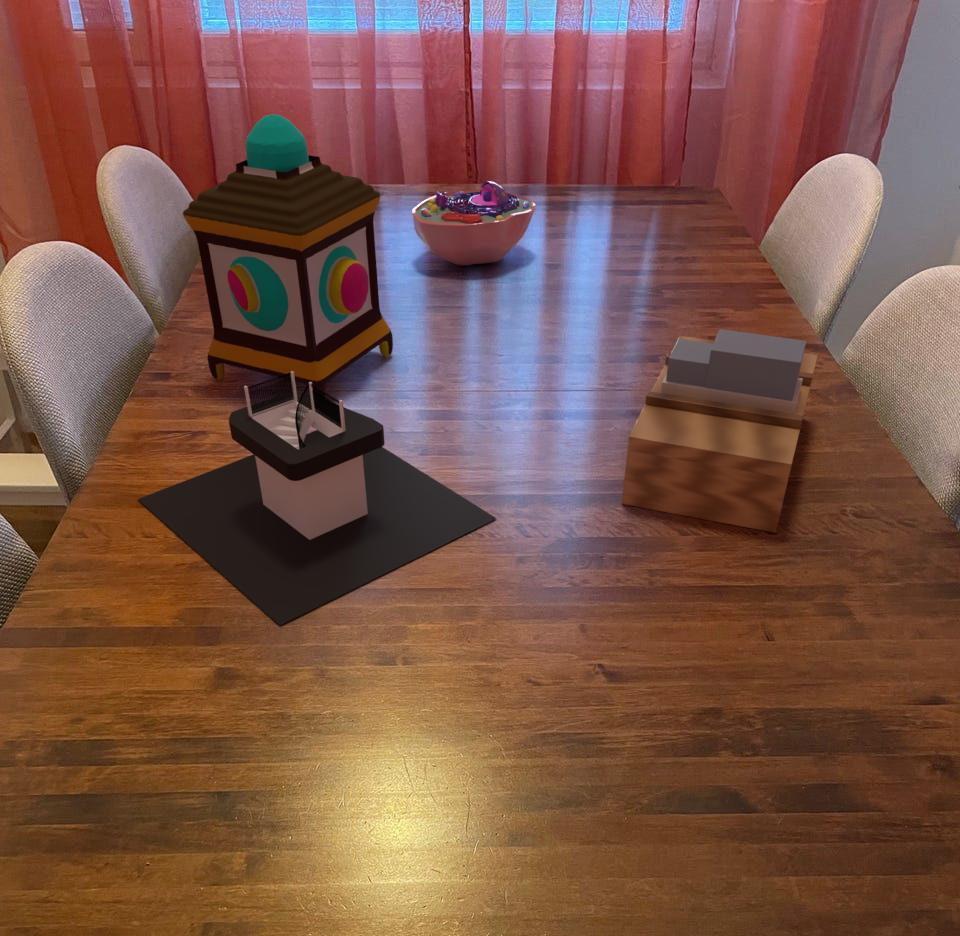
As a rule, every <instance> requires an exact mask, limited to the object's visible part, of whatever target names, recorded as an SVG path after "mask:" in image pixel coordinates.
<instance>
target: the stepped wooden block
mask: <svg viewBox="0 0 960 936" xmlns="http://www.w3.org/2000/svg"><path fill="white" fill-rule="evenodd" d="M678 339H684V340H691V341H698V342H705V343H712V344H714V342H715V340H712V339H707V338H706V339H705V338H699V337H692V336H684V335H679V337H678V338H677V340H676V343H677V341H678ZM676 343H675V345H676ZM675 345H674V346H673V348H672V349H671V352H667V354H666V356H665V361H664V362H665V363H664V366H663V368H662V370H661V372H660V373H659V376H658V378H657V380H656V382H655V383H654V386H653V388H652V390H648V392H647V394H646V395H645V401H644V406H643V408H642V410H641V411H640V414H639V416H638V417H637V420H636V421H635V423H634V426H633V428H632V429H631V431H630V433H629V435H628V441H627V451H626V458H625V459H626V461H625V469H624V478H623V486H622V487H623V488H622V496H621V504H622V505H626V506H632V507H637V508H641V509H646V510H647V509H648V510H653V511H658V512H663V513H668V514H672V515H673V514H674V515H678V516H684V517H688V518H695V519H700V520H704V521H710V522H715V523H721V524H727V525H732V526H737V527H743V528H749V529H753V530H758V531H763V532H769V533H773V534H774V533H776V532H777V529H778V524H779V520H780V516H781V513H782V508H783V504H784V500H785V496H786V491H787V487H788V483H789V478H790V474H791V470H792V466H793V461H794V457H795V453H796V449H797V444H798V440H799V436H800V432H801V428H802V424H803V420H804V416H805V412H806V407H807V403H808V398H809V394H810V390H811V386H812V382H813V377H814V373H815V370H816V365H817V359H818V354H812V353H806V352H804V354H803V359H802V363H801V368H800V372H799V376H798V378H803V381H802V385H801V390H800V394H799V398H798V402H797V406H796V410H795V414H791V413H784V412H778V411H772V410H765V409H759V408H753V407H746V406H740V405H733V404H727V403H721V402H714V401H708V400H702V399H695V398H689V397H683V396H676V395H670V394H664V393H661V388H662V382H663V380H664V378H665V376H666V374H667V368H668V361H669V357H670V355H671V353H672V351H673V349H674V347H675Z"/></svg>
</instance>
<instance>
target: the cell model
mask: <svg viewBox="0 0 960 936" xmlns="http://www.w3.org/2000/svg"><path fill="white" fill-rule="evenodd" d="M536 207H537V205H536V203H535V202H534V201H533V200H531V199H529V198H526V197H524V196H522V195H520V194H516V193H514V192H513V193H512V192H508V191H506V190H505V188H504V187H503V186H501V184H499V183H497V182H495V181H490V180H489V181H488V180H486V181H484V182H483V183H482V184H481V187H480V188H476V189H466V190H450V191H444V192H440V191H437V192H436V194H435V195H433V196H429V197H428V198H426V199H425V200H423V201H421V202H420V203H418V204H417V205H415V206H414V207H413V208H412V209H411V214H412V222H413V228H414V232H415V234H416V236H417V237H418V238H419V240H420V241H421V242H422V243H423V244H424V245H425V246H426V247H427V248H428V250H430V252H432V253H433V255H435V256H437V257H439V258H440V259H442V260H444V261H447V262H450V263H451V264H453V265H456V266H472V265H482V264H483V265H485V264H493V263H496V262H500V261H501V260H502V259H504V258H505V257H506V256H507V255H508V254H509V253H510V252H511V251H512V249H514V248H515V247H516V245H517V244H518V243H519V242H520V241H521V240H522V239H523V237H524V236H525V234H526V232H527V230H528V229H529V226H530V224H531V221H532V219H533V216H534V213H535V211H536Z"/></svg>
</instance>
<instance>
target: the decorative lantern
mask: <svg viewBox="0 0 960 936" xmlns="http://www.w3.org/2000/svg"><path fill="white" fill-rule="evenodd" d="M308 150H309V149H308V144H307V141H306V138H305V136H304V134H303V133H302V132H301V131H300V130H299V129H298V128H297V127H296V126H295V125H294V124H293V122H292V121H290V120H289V119H288V118H286V117H284V116H282V115H281V114H277V113H276V114H268V115H267V114H266V115H264V116H262V118H261V119H259V120H258V121H257V122H256V123H255V124H254V126H253V127H252V128H251V130H250V131H249V133H248V134H247V137H246V140H245V153H246V159H245V160H242V161H240V162H238V163H236V164H235V171H232V172H229V174H228V175H227V177H226V180H223V181H221V182H219V184H217V185H215V186H213V187H210V188H207V189H206V190H202V191H201V192H200V193H199V194H198V195H197V197H196V198H195V199H194V200H192V201H190V202H189V203H188V207H187V208H185V209H184V210H183V212H182V216H183V218H184V220H185V222H186V223H187V224H188V226H189V227H190V229H191V230H192V231H193V234H194V235H195V238H196V241H197V246H198V253H199V258H200V262H201V263H200V264H201V268H202V272H203V279H204V284H205V289H206V295H207V300H208V306H209V311H210V317H211V320H212V328H213V336H212V339H211V343H210V345H209V349H208V352H207V364H208V368H209V371H210V374H211V376H212V378H213V379H215V380H216V381H221V380H222V379H223V378H224V377H225V365H228V366H230V367H231V366H232V367H235V368H239V369H243V370H247V371H252V372H255V373H260V374H264V375H268V376H272V377H275V378H276V377H279V376H281V375H284V374H287V373H290V372H291V371H293V372H294V377H295V383H296V382H297V383H301V384H304V385H305V386H307V385H308V384H309V382H312V385H314V386H316V387H317V388H319V389H321V390H322V391H324V392H326V389H327V385H328V383H329V382H330V381H331V380H332V379H334V377H336V376H337V375H339V374H340V373H341V372H343V371H345V370H346V369H347V368H349V367H350V366H352V365H353V364H354V363H355V362H358V361H359V360H360V359H361V358H363V357H364V356H365V355H367V354H369V353H370V352H371V351H373V350H374V349H376V348H377V347H378V348H379V352H380V354H381V356H383V357H384V358H388V357H390V356H391V355H392V353H393V349H394V340H393V339H394V338H393V332H392V330H391V328H390V327H389V325H388V323H387V322H386V320H385V318H384V316H383V314H382V312H381V307H380V297H379V283H378V281H379V280H378V269H377V268H378V267H377V253H376V239H375V226H374V225H375V224H374V219H375V218H374V217H375V214H376V210H377V209H378V205H379V203H380V199H381V193H380V192H379V191H377V190H375V189H374V188H373V186H372V185H371V184H367V183H364V181H363V179H361V178H359V177H356V176H350V175H344V174H342V173H341V172H340V171H336V170H333V169H332V167H331V166H330V165H329V164H324V163H322V162H321V157H320V156H317V155H310V154H309V151H308ZM287 378H288V379H289V378H290V375H289V377H288V375H287V376H286V380H287ZM281 379H283V377H282V378H281ZM283 380H285V376H284V379H283ZM313 390H314V391H315V392H317V391H318V390H317V389H313ZM326 393H327V392H326ZM317 394H318V393H317ZM315 395H316V394H315ZM320 395H322V396H325V394H324V393H323V394H320ZM324 399H325V398H324Z"/></svg>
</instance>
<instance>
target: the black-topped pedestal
mask: <svg viewBox="0 0 960 936" xmlns="http://www.w3.org/2000/svg"><path fill="white" fill-rule="evenodd" d="M287 375H288V377H289V375H290V378H289V379H288V378H287V379H286V376H287ZM284 376H285V379H284ZM282 377H283V378H282ZM243 389H244V395H245V402H246V406H244V407H242V408H239V409H236V410H233V411H231V412H230V414H229V417H228V424H229V425H228V426H229V430H230V435H231V436H230V437H231V439H232V440H233V441H234V442H236V443H237V444H239V445H240V446H241V447H243V448H244V449H245V450H247V451H248V452H250V453H251V454H250V455H248V456H246V457H243V458H240V459H238V460H235V461H233V462H231V463H228V464H225V465H222V466H220V467H217V468H214V469H212V470H209V471H207V472H204V473H201V474H199V475H197V476H194V477H191V478H188V479H186V480H183V481H180V482H178V483H175V484H173V485H171V486H168V487H165V488H163V489H160V490H157V491H154V492H152V493H150V494H147V495H144V496H142V497H139V498H137V500H138V501H139V502H140V504H142V505H143V506H144V507H145V508H147V509H148V511H150V512H151V513H153V514H154V515H155V517H157V518H158V519H159V520H160V521H161V522H163V523H164V525H166V526H167V527H168V528H169V529H170V530H171V531H173V532H174V533H175V534H176V535H177V536H178V537H180V539H181V540H183V541H184V542H185V543H186V544H187V545H189V546H190V547H191V548H192V549H193V550H194V552H196V553H198V554H199V555H200V556H201V557H202V558H203V559H205V560H206V562H208V563H209V564H210V565H211V566H213V567H214V569H215V570H217V571H218V572H219V573H220V574H221V575H222V576H223V577H225V578H226V579H227V580H228V581H229V582H230V583H232V585H234V587H236V588H237V589H238V590H239V591H240V592H241V593H243V594H244V595H245V596H246V597H247V598H249V600H250V601H251V602H253V603H254V604H255V605H256V606H257V607H259V608H260V610H262V611H263V612H264V613H265V614H267V616H269V617H270V618H271V619H272V620H273V621H274V622H276V623H277V624H278V625H279V626H282V625H283V624H286V623H288V622H290V621H291V620H292V621H293V620H294V619H296V618H299V617H300V616H302V615H304V614H307V613H308V612H311V611H313V610H314V609H316V608H318V607H320V606H322V605H324V604H326V603H328V602H330V601H332V600H335V599H337V598H338V597H341V596H343V595H345V594H347V593H349V592H351V591H353V590H354V589H357V588H359V587H361V586H363V585H365V584H367V583H369V582H371V581H373V580H375V579H377V578H379V577H381V576H383V575H385V574H387V573H389V572H392V571H394V570H395V569H398V568H400V567H402V566H404V565H405V564H407V563H409V562H411V561H413V560H415V559H418V558H420V557H422V556H424V555H426V554H428V553H429V552H431V551H434V550H435V549H438V548H440V547H442V546H444V545H446V544H448V543H450V542H452V541H454V540H456V539H458V538H460V537H462V536H464V535H466V534H468V533H470V532H472V531H475V530H476V529H478V528H480V527H482V526H484V525H487V524H489V523H491V522H492V521H495V520H496V519H498V518H497V517H495V516H494V515H492V514H491V513H489V512H488V511H486V510H484V509H483V508H482V507H479V506H478V505H477V504H474V503H473V502H472V501H470V500H469V499H467V498H465V497H463V496H462V495H461V494H459V493H458V492H455V491H454V490H453V489H451V488H449V487H447V486H446V485H444V484H443V483H441V482H440V481H438V480H436V479H434V478H433V477H431V476H430V475H428V474H426V473H425V472H423V471H422V470H421V469H419V468H417V467H415V466H414V465H412V464H410V463H409V462H407V461H406V460H404V459H402V458H401V457H399V456H398V455H396V454H394V453H393V452H391V451H390V450H388V449H387V448H385V447H384V446H385V443H386V442H385V428H384V424H382V423H380V422H379V421H377V420H376V419H374V418H372V417H369V416H367V415H365V414H362V413H360V412H357V411H356V410H355V411H354V410H352V409H350V408H347V407H345V406H344V401H343V400H342V399H337V398H336V397H334V396H332V395H330V394H329V393H328V392H324V391H322V390H321V389H319V388H317V387H316V386H314V385H312V382H309V384H308V385H306V387H305V389H304V390H303V391H302V390H297V385H296V381H295V377H294V372H293V371H291V372H290V373H287V374H284V375H281V376H279V377H276V376H275V377H273V378H270V379H267V380H264V381H262V382H258V383H255V384H253V385H249V386H248V385H244V386H243ZM308 389H309V392H308ZM313 389H317V390H318V391H317V392H315V391H314V390H313ZM317 393H318V394H317ZM323 393H324V394H325V396H322V395H320V394H323ZM315 394H316V395H315ZM324 398H325V399H324ZM311 427H312V428H314V429H315V430H314V431H310V432H309V430H310V429H311Z"/></svg>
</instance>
